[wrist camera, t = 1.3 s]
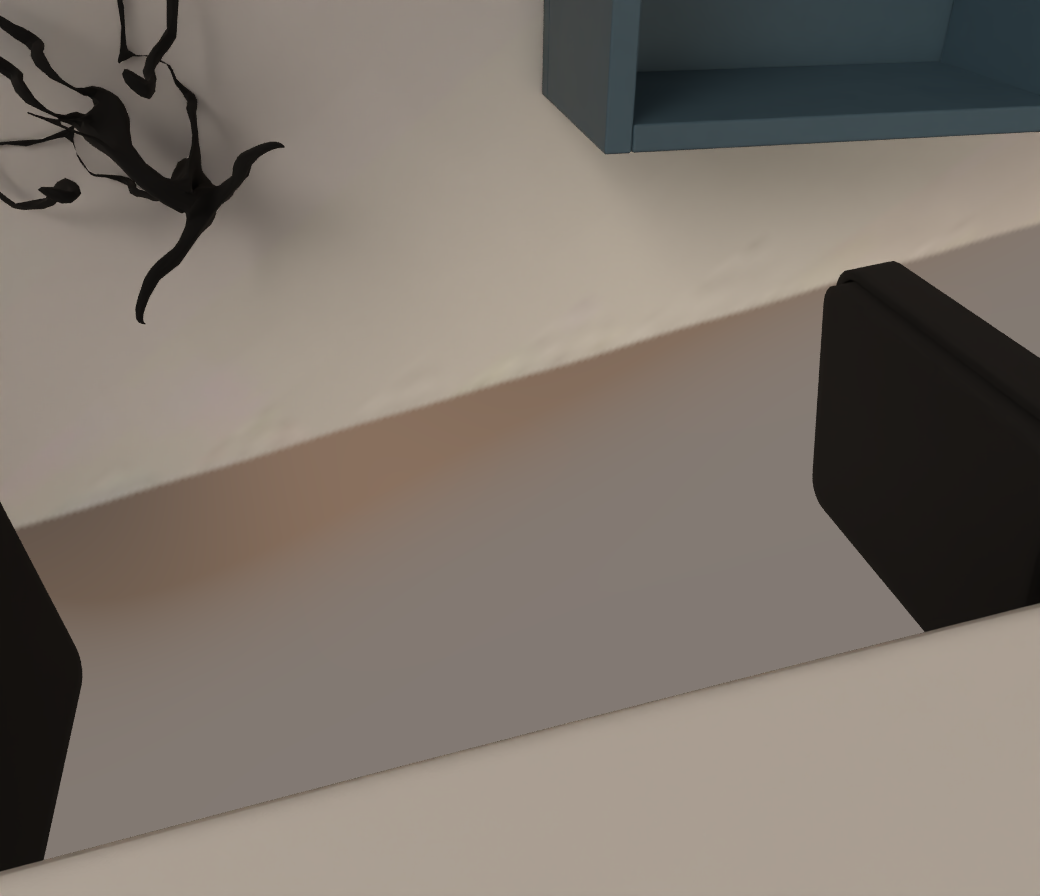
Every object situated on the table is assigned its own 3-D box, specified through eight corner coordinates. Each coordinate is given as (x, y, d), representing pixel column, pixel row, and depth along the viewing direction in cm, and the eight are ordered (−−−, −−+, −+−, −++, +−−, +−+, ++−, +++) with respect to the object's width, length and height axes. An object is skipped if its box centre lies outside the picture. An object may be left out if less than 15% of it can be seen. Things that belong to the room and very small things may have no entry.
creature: (-73, 124, 27) (168, 309, 29) (-193, 146, 22) (108, 365, 25) (83, -112, 25) (328, 107, 27) (-12, -146, 20) (298, 126, 22)
